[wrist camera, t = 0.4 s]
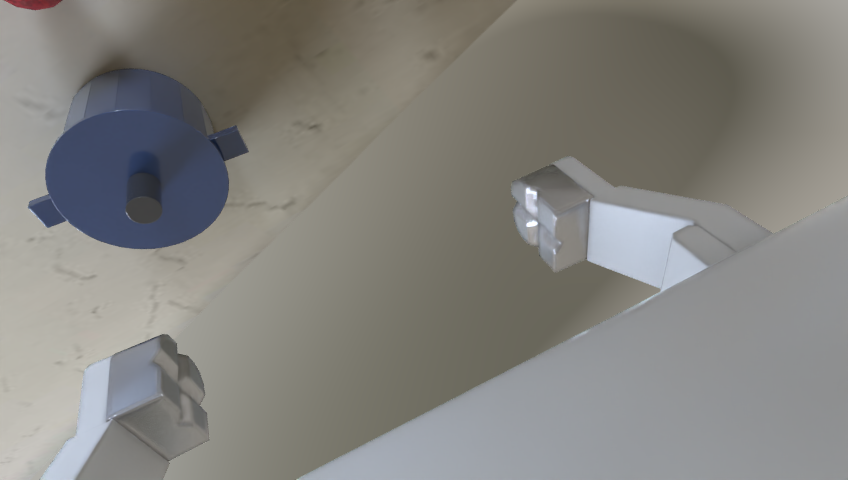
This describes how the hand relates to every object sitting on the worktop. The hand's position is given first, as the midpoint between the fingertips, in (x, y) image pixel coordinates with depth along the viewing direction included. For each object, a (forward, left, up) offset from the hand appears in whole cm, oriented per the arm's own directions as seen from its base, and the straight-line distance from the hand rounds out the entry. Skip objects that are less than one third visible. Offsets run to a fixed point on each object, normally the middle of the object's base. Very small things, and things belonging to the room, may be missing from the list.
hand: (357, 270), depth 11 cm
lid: (+14, -13, -35) cm, 39 cm away
